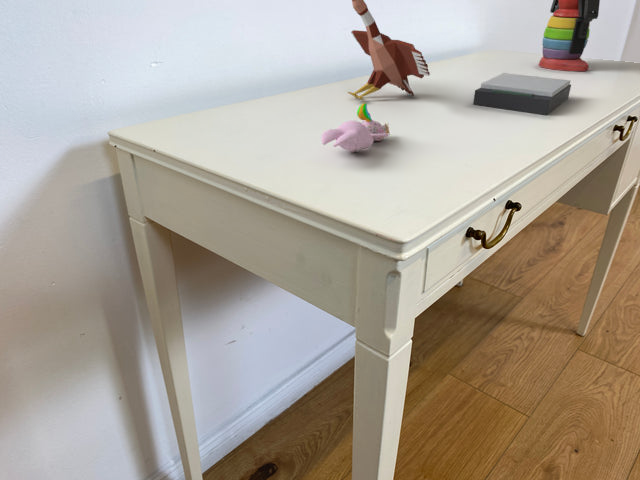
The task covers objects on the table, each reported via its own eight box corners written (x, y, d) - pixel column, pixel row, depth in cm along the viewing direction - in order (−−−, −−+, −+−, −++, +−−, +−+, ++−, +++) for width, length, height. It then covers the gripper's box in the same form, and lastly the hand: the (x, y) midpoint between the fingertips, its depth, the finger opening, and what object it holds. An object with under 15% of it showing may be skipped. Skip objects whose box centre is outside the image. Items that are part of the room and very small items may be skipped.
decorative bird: (294, 67, 97) (322, -14, 92) (373, 98, 105) (403, 25, 100) (345, 100, 73) (387, -7, 68) (442, 136, 81) (487, 44, 76)
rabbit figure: (357, 141, 72) (304, 155, 59) (361, 98, 70) (307, 103, 57) (398, 148, 69) (352, 164, 56) (404, 103, 67) (357, 109, 54)
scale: (546, 115, 79) (551, 94, 77) (472, 104, 85) (475, 85, 84) (568, 98, 89) (572, 79, 87) (500, 90, 95) (503, 72, 94)
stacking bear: (589, 71, 111) (611, -19, 102) (541, 70, 113) (558, -19, 105) (579, 63, 120) (599, -21, 112) (534, 62, 122) (550, -21, 114)
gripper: (548, -62, 114) (528, 43, 125) (599, -68, 94) (571, 58, 105) (580, -62, 114) (558, 43, 125) (638, -68, 94) (606, 57, 105)
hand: (564, 50), depth 115 cm, fingers open, 10 cm apart
